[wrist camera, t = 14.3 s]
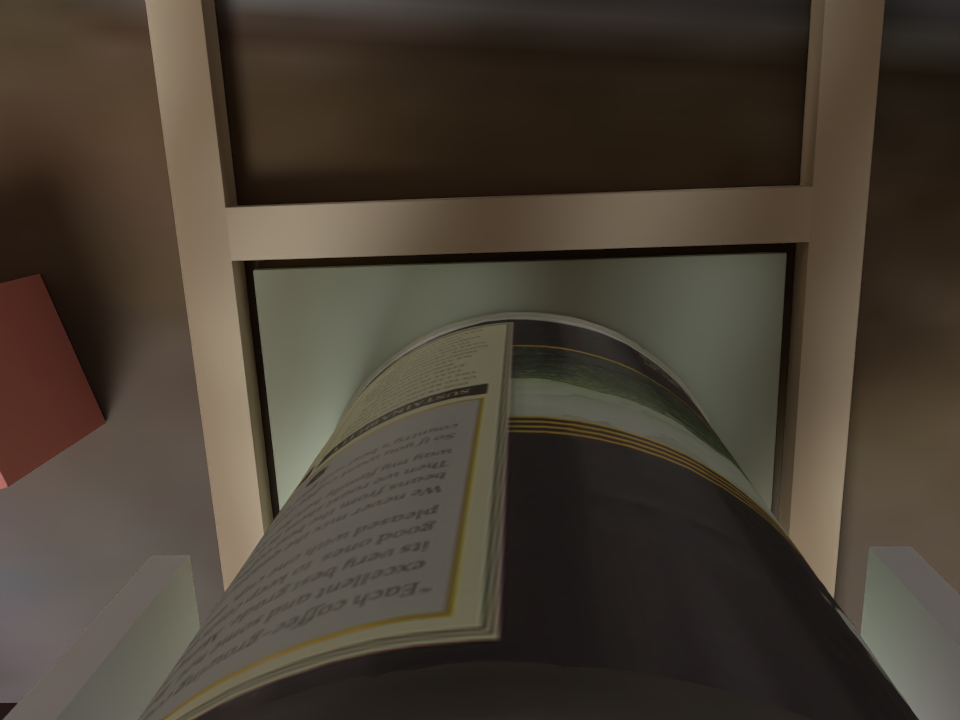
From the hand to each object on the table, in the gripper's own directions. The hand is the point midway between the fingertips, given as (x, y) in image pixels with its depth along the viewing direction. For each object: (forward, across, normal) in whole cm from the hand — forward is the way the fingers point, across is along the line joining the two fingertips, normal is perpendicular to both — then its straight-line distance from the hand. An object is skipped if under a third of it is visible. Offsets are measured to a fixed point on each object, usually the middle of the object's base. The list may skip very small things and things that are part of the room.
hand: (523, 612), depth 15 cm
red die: (+5, +13, -4) cm, 14 cm away
